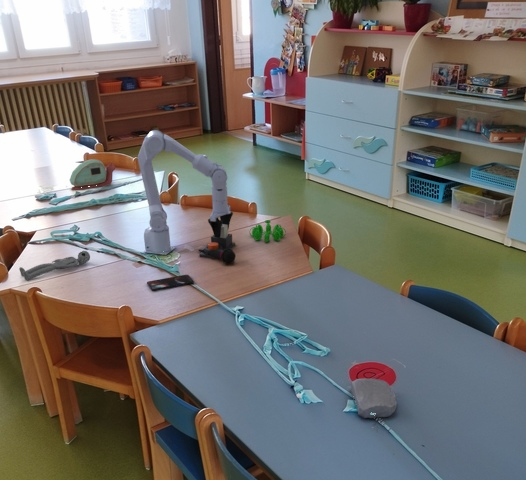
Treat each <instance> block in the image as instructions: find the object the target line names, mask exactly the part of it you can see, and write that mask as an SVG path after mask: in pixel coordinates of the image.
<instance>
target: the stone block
mask: <svg viewBox="0 0 526 480" xmlns="http://www.w3.org/2000/svg"><path fill="white" fill-rule="evenodd" d="M350 384H351V385H350V393H351V396H352V399H353V402H354V406H355V408H356V410H357V411H356V412H357V414H358V416H360V417H361V418H362V419H375V418H387V417H391V416H392V415H393V414H394V413H395V412H396V409H397V405H398V402H397V399H396V398H397V397H396V395H395V392H394V391H393V390H392V387H391V386H390V384H389V383H388V382H387V381H385V380H383V379H378V378H372V377H370V378H366V377H363V378H357V379H355V380H352V382H351V383H350ZM353 396H354V397H353ZM354 399H355V400H354ZM355 401H356V403H355ZM356 404H357V406H356ZM357 407H358V409H357ZM371 412H372V413H376V415H375V416H374V415H370V413H371ZM376 416H377V417H376Z"/></svg>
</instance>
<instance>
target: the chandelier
mask: <svg viewBox="0 0 526 480" xmlns="http://www.w3.org/2000/svg"><path fill="white" fill-rule="evenodd" d="M264 223H265V224H266V226H265V230H264V228H263V226H262V225H261V224H259V223H256V225H255V226H254V227H251V228H250V229H249V231H251V233H249V236H250V237H252V238H253V240H254V241H255V242H258V241H260V240H261V239H262V238H263V237H264V238H263V239H264V240H263V241H264V242H265V243H268V242H269V241H270V239H271V236H270V235H272V239H273V240H274V241H275V242H279V241H280V240H281V239H283V238H284V237H285V236H286V235H287V230H286V229H285V228H284V227H282V225H281V224H279V223H277V224H276V225H274V226H273V229H272V225H271V220H265V221H264ZM284 232H285V234H284ZM263 235H264V236H263Z"/></svg>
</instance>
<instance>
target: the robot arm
mask: <svg viewBox="0 0 526 480" xmlns="http://www.w3.org/2000/svg"><path fill="white" fill-rule="evenodd" d="M163 150H164V151H163ZM161 152H164V153H174V154H176V155H178V156H179V157H181V158H183V159H184V160H186V161H187V162H190V163H191V166H192V168H193V169H194V170H195V171H197V172H199V173H201V174H202V175H203V176H204V177H206V178H210V180H211V201H212V211H211V214H210V216H209V218H208V219H207V223H208V224H209V226H210V227H211V229H212V233H213V235H214V236H215V237H218V238H220V236H221V226H222V224H226V225H228V230H229V229H230V223H231V219H232V217H233V215H234V212H233V211H231V205H228V187H227V184H228V183H227V181H228V175H227V171H226V169H225V168H224V166H222V165H221V164H219V163H218V162H214V161H213V160H211V159H210V158H208V155H207V154H202V153H199V154H195V153H194V152H193V151H191V150H189V148H187V147H186V146H184V145H182V144H181V143H180V142H179V141H177V140H175V138H172V137H171V136H169V135H168V134H167V133H163V132H162V131H161V130H157V129H153V130H151V131H149V133H148V134H147V135H145V137H144V139H143V141H142V144H141V147H140V149H139V152H138V155H137V162H138V167H139V170H140V171H139V172H140V174H141V179H142V183H143V188H144V191H145V195H146V199H147V204H148V210H149V216H150V219H149V227H146V228H145V229H144V232H143V242H144V253H148V254H155V255H160V256H161V255H162V256H167V255H168V254H169V253H171V252H172V251H174V250H175V249H176V247H175V246H171V237H170V227H169V225H168V224H167V223H168V222H167V220H168V215H167V212H166V211H165V209H164V207H163V204H162V202H161V201H162V200H161V197H160V192H159V188H158V183H157V179H156V174H155V171H154V165H153V161H154V159H155V157H156V156H157V155H158V154H160V153H161ZM163 251H164V252H163Z"/></svg>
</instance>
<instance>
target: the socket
mask: <svg viewBox="0 0 526 480" xmlns="http://www.w3.org/2000/svg"><path fill="white" fill-rule="evenodd" d="M211 242H216V243H218V245H221V246H222V248H228V247H229V246H230V245H231V244H232V242H233V233H228V236H227V237H226V238H218V237H215V236H214V234H213V235H212V236H211V237H210V243H211Z"/></svg>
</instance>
